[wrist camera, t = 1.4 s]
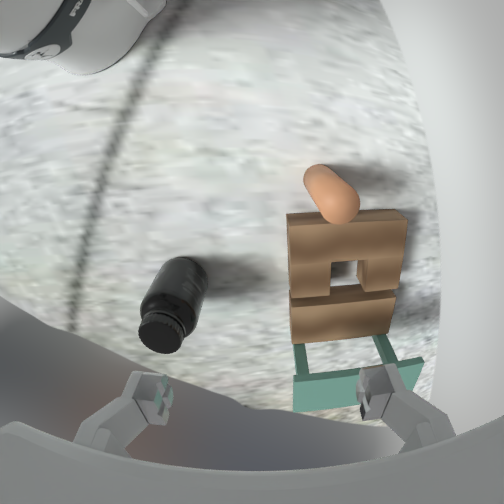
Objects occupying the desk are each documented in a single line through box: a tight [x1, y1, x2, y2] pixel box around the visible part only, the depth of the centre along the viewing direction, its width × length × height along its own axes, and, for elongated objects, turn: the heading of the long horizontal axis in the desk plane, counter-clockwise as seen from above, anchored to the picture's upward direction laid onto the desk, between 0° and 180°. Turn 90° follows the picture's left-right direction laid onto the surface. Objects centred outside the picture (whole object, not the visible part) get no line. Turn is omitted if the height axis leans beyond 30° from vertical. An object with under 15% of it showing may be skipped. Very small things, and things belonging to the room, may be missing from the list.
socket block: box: [286, 209, 408, 344], centre depth 37 cm, size 17×14×4 cm
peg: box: [303, 164, 360, 225], centre depth 29 cm, size 4×4×10 cm
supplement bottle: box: [138, 258, 208, 354], centre depth 34 cm, size 7×7×12 cm
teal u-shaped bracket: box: [293, 334, 425, 412], centre depth 35 cm, size 6×15×14 cm, turn 95°
